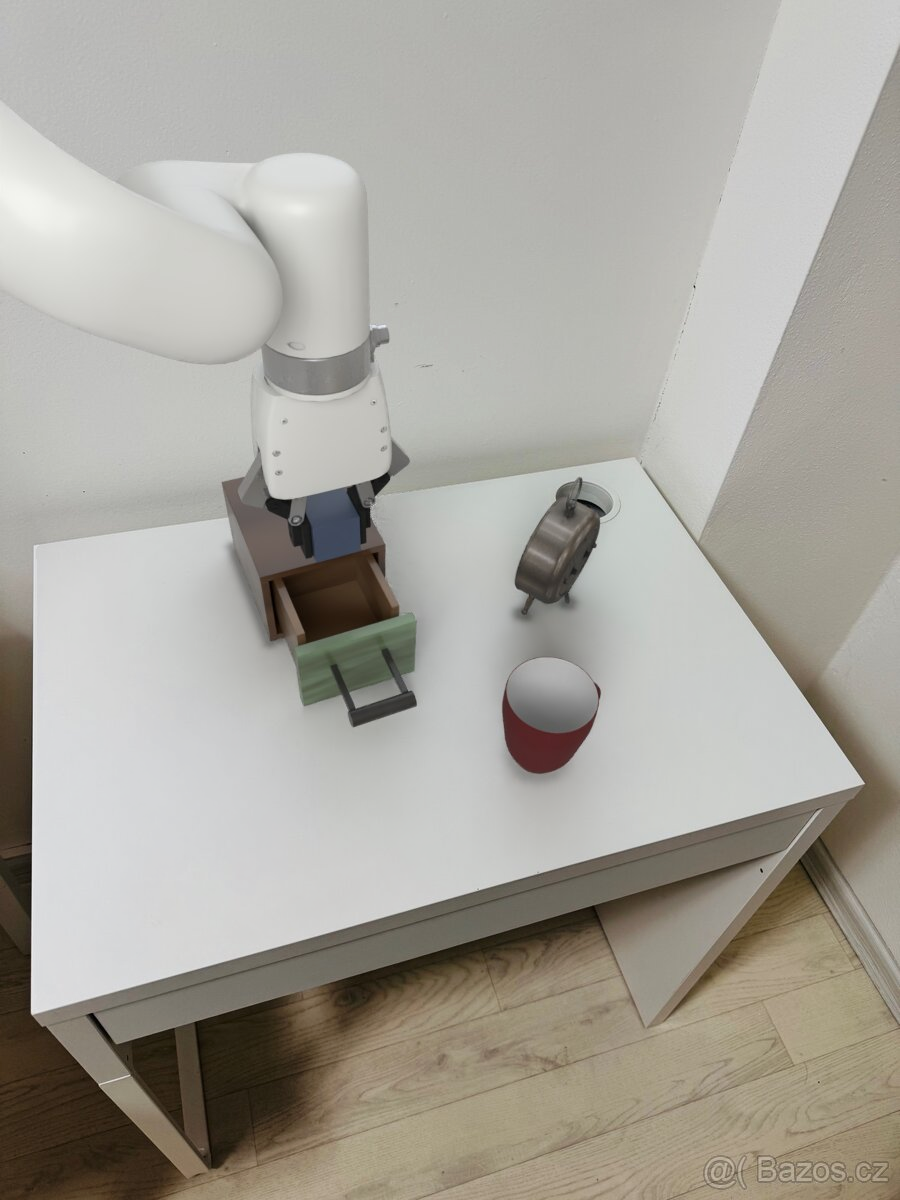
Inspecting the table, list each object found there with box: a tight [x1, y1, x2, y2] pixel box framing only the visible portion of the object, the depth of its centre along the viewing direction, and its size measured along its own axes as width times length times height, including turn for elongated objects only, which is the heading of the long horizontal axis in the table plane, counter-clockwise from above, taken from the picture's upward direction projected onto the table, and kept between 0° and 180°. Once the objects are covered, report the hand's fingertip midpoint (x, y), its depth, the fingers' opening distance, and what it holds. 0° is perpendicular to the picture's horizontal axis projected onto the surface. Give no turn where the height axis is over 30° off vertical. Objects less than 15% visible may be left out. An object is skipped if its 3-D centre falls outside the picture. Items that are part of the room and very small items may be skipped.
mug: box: [501, 656, 602, 775], centre depth 75 cm, size 10×8×10 cm
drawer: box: [269, 554, 418, 729], centre depth 80 cm, size 20×11×8 cm, turn 24°
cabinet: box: [221, 476, 386, 642], centre depth 88 cm, size 15×13×10 cm
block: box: [305, 487, 361, 563], centre depth 71 cm, size 4×4×4 cm
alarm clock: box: [514, 476, 601, 616], centre depth 86 cm, size 11×5×16 cm, turn 147°
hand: (330, 538), depth 72 cm, fingers closed on block, 4 cm apart
